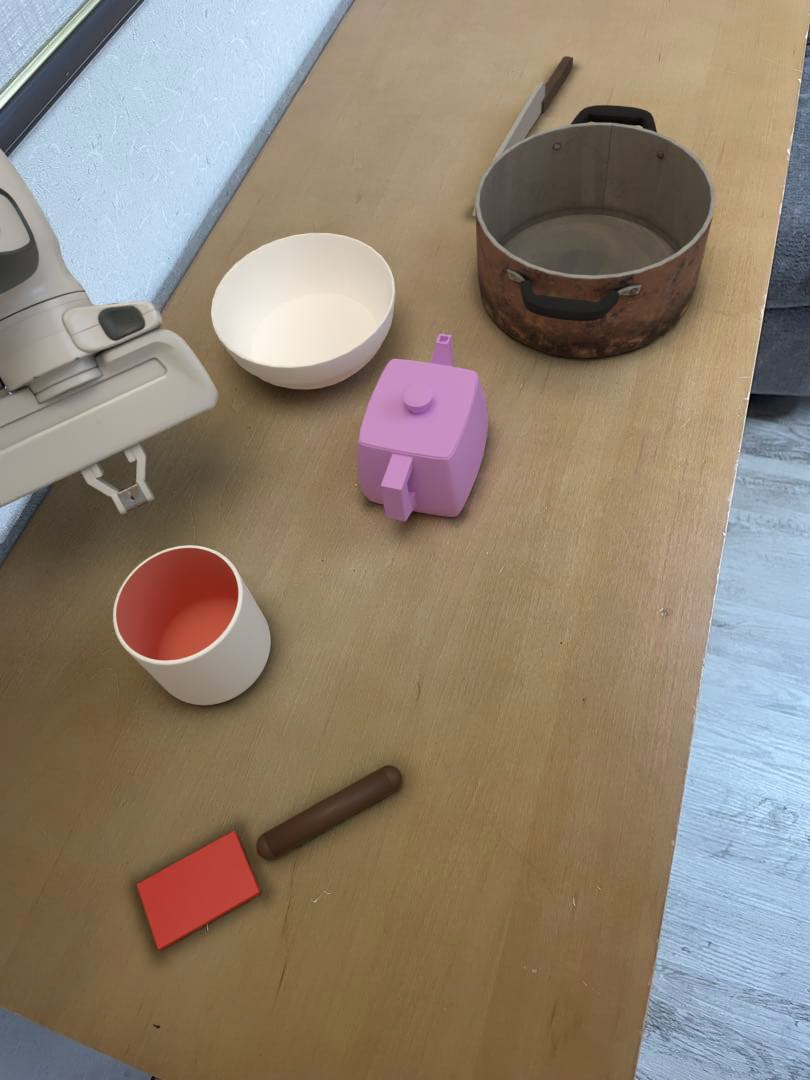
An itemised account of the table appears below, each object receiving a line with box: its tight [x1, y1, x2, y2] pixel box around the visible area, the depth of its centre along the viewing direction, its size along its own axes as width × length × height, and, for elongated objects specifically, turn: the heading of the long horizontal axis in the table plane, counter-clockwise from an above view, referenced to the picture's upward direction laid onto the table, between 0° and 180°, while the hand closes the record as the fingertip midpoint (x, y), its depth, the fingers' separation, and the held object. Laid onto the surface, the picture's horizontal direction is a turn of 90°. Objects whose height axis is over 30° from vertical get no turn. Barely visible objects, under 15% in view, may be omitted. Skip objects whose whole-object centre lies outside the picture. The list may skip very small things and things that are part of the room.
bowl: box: [210, 232, 396, 391], centre depth 86 cm, size 18×18×7 cm
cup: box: [112, 544, 272, 706], centre depth 68 cm, size 10×10×10 cm
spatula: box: [136, 764, 403, 951], centre depth 63 cm, size 21×5×2 cm, turn 118°
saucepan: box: [474, 104, 717, 359], centre depth 85 cm, size 30×22×11 cm
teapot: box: [357, 333, 489, 522], centre depth 75 cm, size 18×10×10 cm, turn 163°
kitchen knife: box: [471, 55, 574, 218], centre depth 101 cm, size 4×1×30 cm
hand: (138, 506), depth 70 cm, fingers closed
